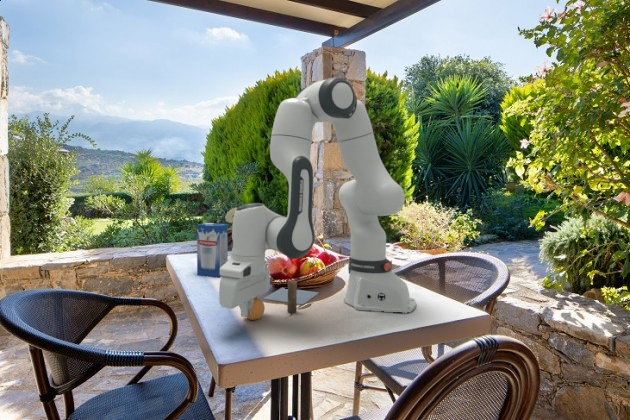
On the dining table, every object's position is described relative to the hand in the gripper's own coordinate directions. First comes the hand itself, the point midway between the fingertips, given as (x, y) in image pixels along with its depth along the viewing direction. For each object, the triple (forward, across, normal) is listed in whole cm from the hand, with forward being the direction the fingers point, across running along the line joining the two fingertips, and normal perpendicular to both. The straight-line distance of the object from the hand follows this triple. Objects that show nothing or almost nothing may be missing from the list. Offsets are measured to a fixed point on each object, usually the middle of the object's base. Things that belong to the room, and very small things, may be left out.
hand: (245, 315), depth 108 cm
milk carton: (+2, -40, -39) cm, 56 cm away
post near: (+2, -14, +7) cm, 16 cm away
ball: (-1, -4, 0) cm, 4 cm away
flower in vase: (+2, -63, -41) cm, 76 cm away
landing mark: (+1, -28, +1) cm, 28 cm away
